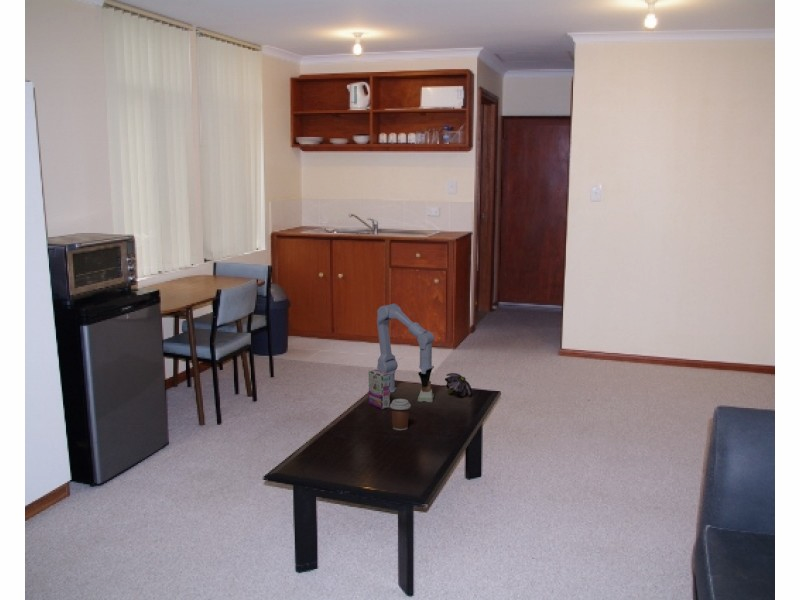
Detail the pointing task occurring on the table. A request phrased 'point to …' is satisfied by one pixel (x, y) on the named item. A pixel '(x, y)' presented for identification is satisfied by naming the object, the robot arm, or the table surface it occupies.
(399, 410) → the coffee cup
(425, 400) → the sage base block
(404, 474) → the table surface
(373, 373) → the candy bar box
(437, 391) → the table surface
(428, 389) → the terracotta cylinder
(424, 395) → the off-white top block
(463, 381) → the decorative flower
